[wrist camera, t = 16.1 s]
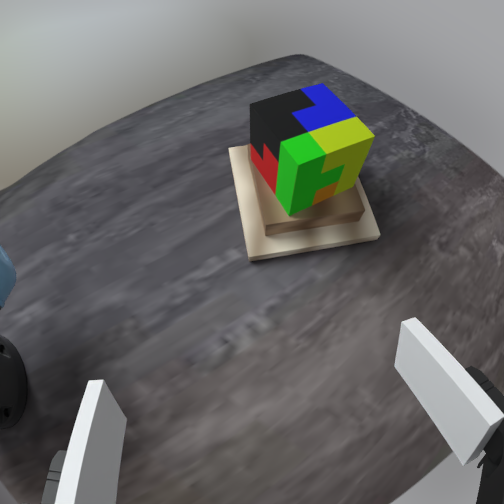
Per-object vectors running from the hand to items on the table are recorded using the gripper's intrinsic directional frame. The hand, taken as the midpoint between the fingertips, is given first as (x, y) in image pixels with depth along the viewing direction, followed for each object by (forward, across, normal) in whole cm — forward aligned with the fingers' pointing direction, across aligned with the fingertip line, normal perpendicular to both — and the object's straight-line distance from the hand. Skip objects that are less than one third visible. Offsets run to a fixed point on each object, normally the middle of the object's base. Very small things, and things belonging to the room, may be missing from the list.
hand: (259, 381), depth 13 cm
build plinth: (+34, +12, -1) cm, 36 cm away
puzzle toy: (+31, +11, +2) cm, 34 cm away
